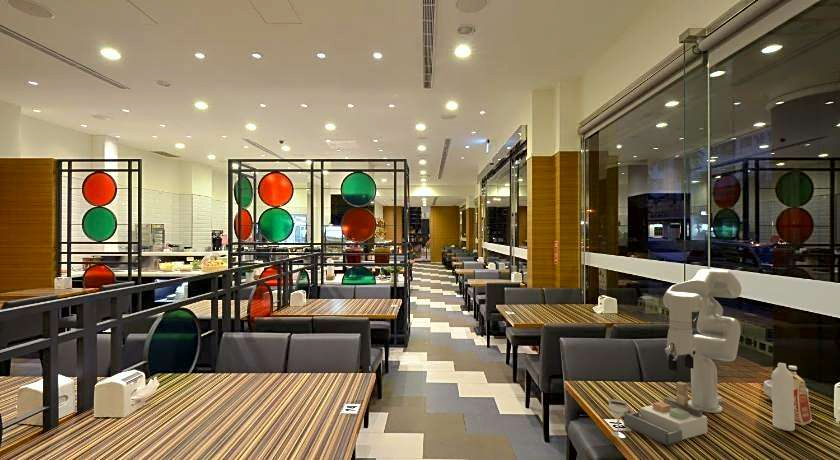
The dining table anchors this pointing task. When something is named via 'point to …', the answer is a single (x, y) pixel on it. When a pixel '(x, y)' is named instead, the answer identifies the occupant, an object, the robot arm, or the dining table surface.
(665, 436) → the tray
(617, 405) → the wineglass
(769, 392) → the paper bowls
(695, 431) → the white flat square block
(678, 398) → the scraper
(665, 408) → the terracotta tile
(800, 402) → the milk carton
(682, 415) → the green tile
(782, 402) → the water bottle
